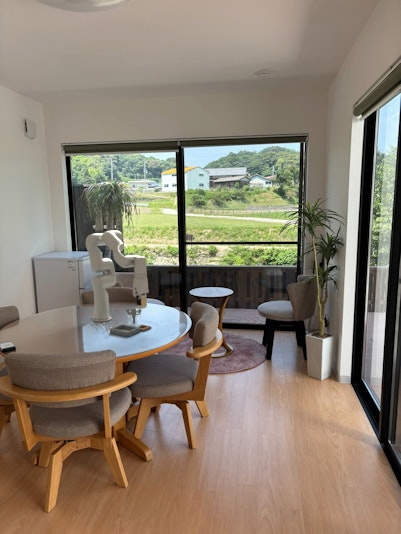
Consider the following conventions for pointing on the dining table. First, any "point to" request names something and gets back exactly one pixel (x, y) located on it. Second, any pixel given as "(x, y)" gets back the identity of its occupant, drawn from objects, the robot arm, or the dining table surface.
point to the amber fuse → (142, 301)
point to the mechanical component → (133, 313)
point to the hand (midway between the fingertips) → (141, 304)
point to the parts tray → (125, 330)
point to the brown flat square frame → (144, 327)
